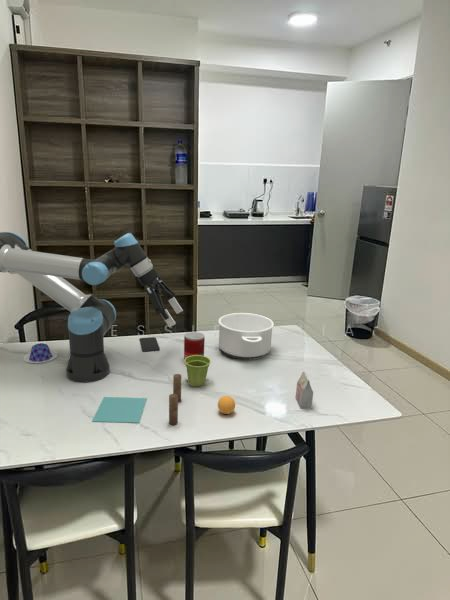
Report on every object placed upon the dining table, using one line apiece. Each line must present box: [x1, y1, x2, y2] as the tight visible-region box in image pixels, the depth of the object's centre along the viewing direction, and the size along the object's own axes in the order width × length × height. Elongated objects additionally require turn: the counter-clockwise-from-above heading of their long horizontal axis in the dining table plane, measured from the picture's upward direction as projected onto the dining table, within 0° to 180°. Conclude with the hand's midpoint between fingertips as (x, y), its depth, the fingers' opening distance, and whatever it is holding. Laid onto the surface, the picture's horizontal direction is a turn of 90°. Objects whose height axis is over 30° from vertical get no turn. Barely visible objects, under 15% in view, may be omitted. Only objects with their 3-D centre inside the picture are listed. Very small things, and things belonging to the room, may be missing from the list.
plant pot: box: [183, 355, 212, 387], centre depth 147 cm, size 9×9×9 cm
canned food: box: [183, 331, 206, 361], centre depth 164 cm, size 8×8×11 cm
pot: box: [217, 312, 275, 360], centre depth 175 cm, size 33×23×14 cm
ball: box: [217, 395, 236, 415], centre depth 130 cm, size 6×6×6 cm
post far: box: [172, 373, 182, 404], centre depth 135 cm, size 3×3×9 cm
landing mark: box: [91, 396, 147, 424], centre depth 129 cm, size 14×14×1 cm
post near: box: [168, 393, 179, 426], centre depth 122 cm, size 3×3×9 cm
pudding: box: [23, 342, 58, 364], centre depth 162 cm, size 12×12×5 cm
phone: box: [139, 336, 161, 353], centre depth 179 cm, size 7×1×15 cm
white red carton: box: [295, 371, 314, 410], centre depth 137 cm, size 4×7×10 cm, turn 4°
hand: (176, 318), depth 159 cm, fingers open, 13 cm apart
